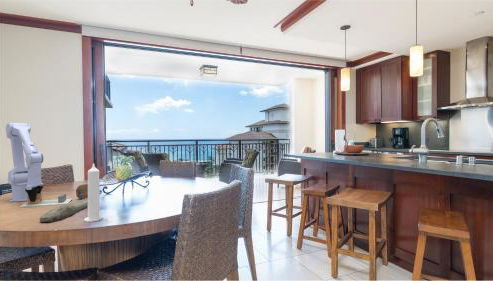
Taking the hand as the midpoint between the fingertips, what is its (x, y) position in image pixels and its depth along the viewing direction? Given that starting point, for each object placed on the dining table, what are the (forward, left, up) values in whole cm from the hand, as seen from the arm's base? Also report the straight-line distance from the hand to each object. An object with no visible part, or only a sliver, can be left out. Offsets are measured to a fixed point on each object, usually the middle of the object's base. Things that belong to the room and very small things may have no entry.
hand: (34, 200), depth 146 cm
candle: (+40, +35, -2) cm, 53 cm away
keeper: (0, 0, -2) cm, 2 cm away
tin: (-10, +23, -2) cm, 25 cm away
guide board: (0, +6, -2) cm, 6 cm away
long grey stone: (+23, +22, -2) cm, 32 cm away
